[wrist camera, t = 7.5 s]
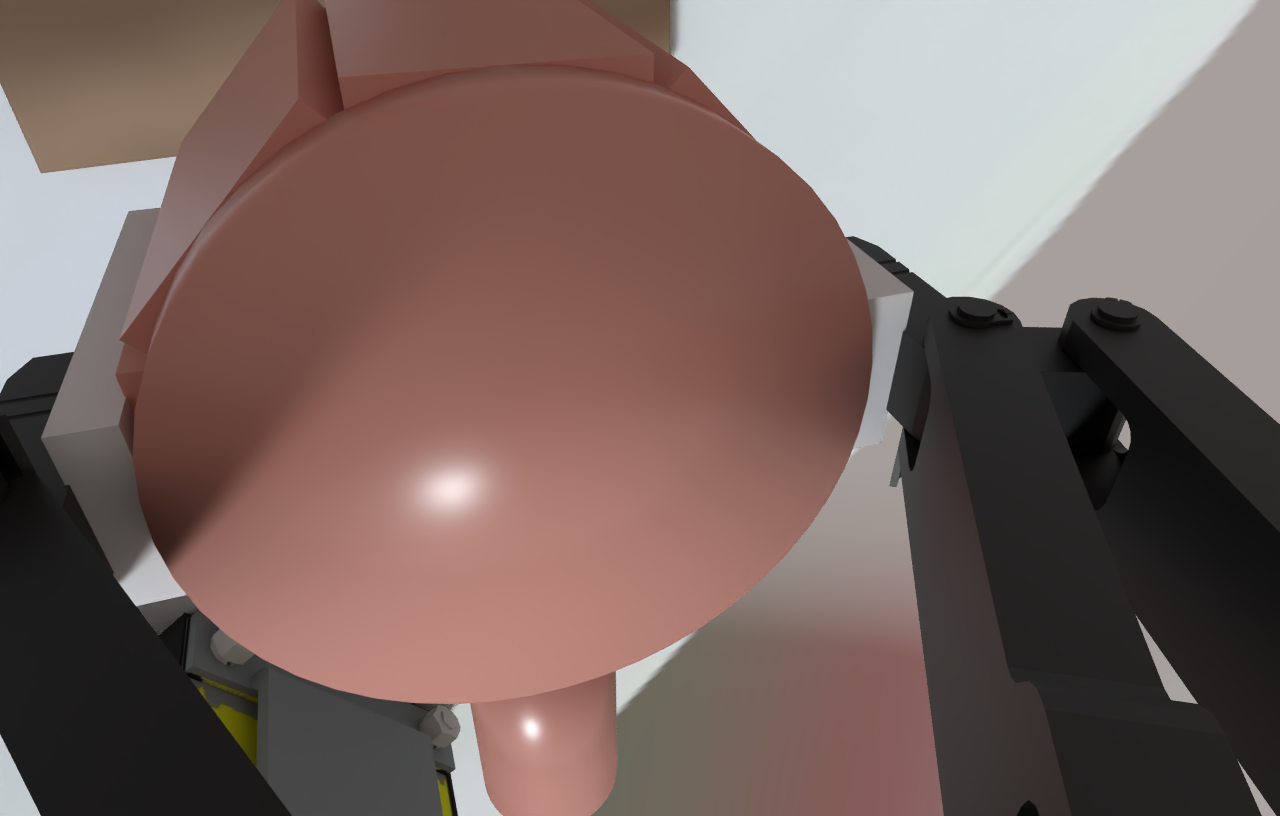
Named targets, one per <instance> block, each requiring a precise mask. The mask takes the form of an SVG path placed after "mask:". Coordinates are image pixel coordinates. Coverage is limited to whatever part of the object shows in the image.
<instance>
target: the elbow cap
mask: <svg viewBox="0 0 1280 816" xmlns="http://www.w3.org/2000/svg"><path fill="white" fill-rule="evenodd" d="M325 5H326V8H325V7H324V6H323V5H321V4H320V3H319V2H318V1H316V0H282V2H281V3H280V5H279V6H278V7H277V9H276V10H275V12H274V13H273V14H272V16H271V17H270V19H269V20H268V21H267V23H266V24H265V26H264V27H263V28H262V30H261V31H260V33H259V34H258V35H257V37H256V38H255V40H254V41H253V42H252V44H251V45H250V47H249V48H248V49H247V51H246V52H245V54H244V55H243V56H242V58H241V59H240V61H239V62H238V63H237V65H236V66H235V68H234V69H233V70H232V72H231V73H230V75H229V76H228V77H227V79H226V80H225V82H224V83H223V84H222V86H221V87H220V89H219V90H218V91H217V93H216V94H215V96H214V97H213V99H212V100H211V101H210V103H209V104H208V106H207V107H206V108H205V110H204V111H203V113H202V114H201V115H200V117H199V118H198V120H197V121H196V122H195V124H194V125H193V127H192V128H191V129H190V131H189V132H188V134H187V135H186V136H185V138H184V139H183V141H182V142H181V145H180V148H179V151H178V154H177V157H176V161H175V164H174V167H173V170H172V173H171V177H170V180H169V183H168V186H167V189H166V192H165V196H164V199H163V202H162V205H161V208H160V212H159V215H158V218H157V221H156V224H155V227H154V231H153V234H152V237H151V240H150V243H149V247H148V250H147V253H146V256H145V259H144V262H143V266H142V269H141V272H140V275H139V278H138V282H137V285H136V288H135V291H134V294H133V297H132V301H131V304H130V307H129V310H128V313H127V317H126V320H125V323H124V326H123V329H122V332H121V336H120V339H119V340H120V341H122V342H124V347H123V350H122V353H121V357H120V360H119V363H118V367H117V370H116V373H115V376H116V378H117V381H118V383H119V385H120V388H121V390H122V392H123V395H124V397H125V396H126V397H127V400H128V402H129V404H130V407H131V409H132V411H133V414H134V439H133V463H134V470H135V477H136V483H137V490H138V496H139V503H140V506H141V509H142V511H143V514H144V517H145V520H146V523H147V526H148V529H149V532H150V534H151V537H152V540H153V543H154V545H155V547H156V548H157V550H158V552H159V554H160V555H161V557H162V559H163V561H164V562H165V564H166V566H167V568H168V569H169V571H170V573H171V575H172V577H173V578H174V580H175V581H176V582H177V583H178V585H179V586H180V587H181V588H182V590H183V591H184V592H185V593H186V594H187V596H188V597H189V598H190V599H191V601H192V602H193V603H194V604H195V605H196V607H197V608H198V609H199V610H200V611H201V612H202V613H203V614H204V615H205V616H206V617H207V618H209V619H210V620H211V621H212V622H213V623H214V624H215V625H216V626H218V627H219V628H220V629H221V630H222V631H223V632H224V633H225V634H227V635H228V636H229V637H230V638H231V639H233V640H235V641H236V642H238V643H239V644H241V645H242V646H244V647H245V648H247V649H248V650H250V651H251V652H253V653H254V654H256V655H257V656H259V657H260V658H262V659H263V660H265V661H268V662H270V663H272V664H274V665H276V666H278V667H280V668H282V669H284V670H286V671H288V672H290V673H292V674H294V675H296V676H298V677H301V678H304V679H307V680H310V681H313V682H316V683H319V684H321V685H324V686H327V687H330V688H333V689H336V690H340V691H345V692H349V693H354V694H358V695H362V696H367V697H371V698H377V699H385V700H393V701H401V702H409V703H432V704H461V703H470V704H471V710H472V715H473V721H474V726H475V732H476V737H477V743H478V748H479V754H480V759H481V765H482V770H483V776H484V781H485V786H486V790H487V793H488V795H489V798H490V800H491V802H492V803H493V805H494V806H495V808H496V809H497V810H498V811H499V812H500V813H501V814H502V815H503V816H590V815H592V814H593V813H594V812H595V811H596V810H597V809H598V808H599V807H600V806H601V805H602V804H603V802H604V801H605V800H606V798H607V797H608V795H609V794H610V792H611V790H612V787H613V785H614V781H615V778H616V773H617V721H616V670H619V669H621V668H623V667H626V666H628V665H631V664H633V663H636V662H638V661H640V660H642V659H644V658H646V657H648V656H650V655H652V654H654V653H656V652H658V651H660V650H662V649H664V648H666V647H668V646H670V645H672V644H674V643H675V642H677V641H679V640H680V639H682V638H684V637H685V636H687V635H689V634H690V633H692V632H694V631H695V630H697V629H698V628H700V627H702V626H703V625H705V624H706V623H708V622H709V621H710V620H712V619H713V618H714V617H716V616H717V615H719V614H720V613H721V612H723V611H724V610H726V609H727V608H728V607H730V606H731V605H733V604H734V603H735V602H736V601H737V600H738V599H740V598H741V597H742V596H743V595H744V594H746V593H747V592H748V591H749V590H750V589H751V588H753V587H754V586H755V585H756V584H757V583H758V582H760V581H761V580H762V579H763V578H764V577H765V576H766V575H767V574H768V573H769V572H770V570H772V569H773V567H775V566H776V564H778V563H779V561H781V560H782V559H783V558H784V556H785V555H786V554H787V553H788V552H789V550H791V548H792V547H793V546H794V545H795V543H796V542H797V541H798V540H799V539H800V537H801V536H802V535H803V534H804V532H805V531H806V530H807V529H808V528H809V526H810V525H811V523H812V522H813V520H814V519H815V517H816V516H817V514H818V513H819V511H820V510H821V508H822V507H823V505H824V504H825V503H826V501H827V500H828V498H829V496H830V495H831V493H832V491H833V489H834V487H835V485H836V483H837V481H838V479H839V478H840V476H841V474H842V472H843V470H844V468H845V466H846V464H847V462H848V459H849V457H850V454H851V451H852V449H853V446H854V444H855V441H856V439H857V436H858V434H859V431H860V427H861V423H862V419H863V415H864V412H865V408H866V404H867V400H868V395H869V387H870V379H871V371H872V364H873V354H872V323H871V317H870V310H869V304H868V298H867V292H866V288H865V285H864V282H863V279H862V276H861V273H860V270H859V267H858V264H857V261H856V258H855V255H854V253H853V251H852V249H851V247H850V245H849V244H848V242H847V240H846V238H845V236H844V234H843V232H842V230H841V228H840V227H839V225H838V223H837V221H836V219H835V218H834V217H833V215H832V214H831V213H830V211H829V210H828V209H827V208H826V206H825V205H824V204H823V202H822V201H821V200H820V198H819V197H818V196H817V194H816V193H815V192H814V191H813V189H812V188H811V187H810V186H809V185H808V184H807V183H806V182H805V181H804V180H803V179H802V178H801V177H799V176H798V175H797V174H796V173H795V172H794V171H793V170H792V169H791V168H790V167H789V166H788V165H787V164H785V163H784V162H783V161H782V160H781V159H780V158H779V157H778V156H776V155H775V154H774V153H772V152H771V151H770V150H768V149H767V148H766V147H764V146H763V145H761V144H760V143H759V142H757V141H756V140H755V139H754V138H753V136H752V135H751V134H750V133H749V132H748V131H747V130H746V129H745V128H744V127H743V126H742V124H741V123H740V122H739V121H738V120H737V119H736V118H735V117H734V116H733V115H732V114H731V113H730V111H729V110H728V109H727V108H726V107H725V106H724V105H723V104H722V103H721V102H720V101H719V100H718V98H717V97H716V96H715V95H714V94H713V93H712V92H711V91H710V90H709V89H708V88H707V86H706V85H705V84H704V83H703V82H702V81H701V80H700V79H699V78H698V77H697V76H696V75H695V73H694V72H693V71H692V70H691V69H690V68H689V67H688V66H686V65H685V64H683V63H682V62H680V61H679V60H677V59H676V58H675V57H673V56H672V55H670V54H669V53H667V52H666V51H664V50H663V49H661V48H660V47H658V46H657V45H655V44H654V43H652V42H651V41H649V40H648V39H646V38H645V37H643V36H642V35H640V34H639V33H637V32H636V31H635V30H633V29H632V28H630V27H629V26H627V25H626V24H624V23H623V22H621V21H620V20H618V19H617V18H615V17H614V16H612V15H611V14H609V13H608V12H606V11H605V10H603V9H602V8H600V7H599V6H597V5H596V4H594V3H593V2H592V1H590V0H325Z"/></svg>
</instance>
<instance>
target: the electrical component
mask: <svg viewBox="0 0 1280 816" xmlns="http://www.w3.org/2000/svg"><path fill="white" fill-rule="evenodd" d="M159 638H160V639H161V640H162V642H163V643H164V644H165V646H166V647H167V648H168V650H169V651H170V652H171V654H172V655H173V656H174V658H175V659H176V660H177V662H178V663H179V664H180V666H181V667H182V669H183V670H184V671H185V673H186V674H187V675H188V677H189V678H190V679H191V681H192V682H193V683H194V685H195V686H196V687H197V689H198V690H199V691H200V693H201V694H202V695H203V697H204V698H205V699H206V701H207V702H208V703H209V705H210V706H211V707H212V709H213V710H214V711H215V713H216V714H217V716H218V717H219V718H220V720H221V721H222V722H223V724H224V725H225V726H226V728H227V729H228V730H229V732H230V733H231V734H232V736H233V737H234V738H235V740H236V741H237V742H238V744H239V745H240V746H241V748H242V749H243V750H244V752H245V753H246V754H247V756H248V757H249V758H250V760H251V761H252V763H253V764H254V765H255V767H256V768H257V769H258V771H259V772H260V773H261V775H262V776H263V777H264V779H265V780H266V781H267V783H268V784H269V785H270V787H271V788H272V789H273V791H274V792H275V793H276V795H277V796H278V797H279V799H280V800H281V801H282V803H283V804H284V805H285V807H286V808H287V810H288V811H289V812H290V814H291V815H292V816H458V814H457V808H456V802H455V797H454V791H453V785H452V780H451V774H450V772H452V771H453V770H455V763H454V758H453V752H452V747H451V743H452V742H453V741H454V740H455V739H456V738H457V736H458V734H459V732H460V725H459V722H458V719H457V717H456V716H455V715H454V713H453V712H452V711H451V710H449V709H448V708H446V707H445V706H441V705H437V706H435V707H434V708H433V709H432V710H430V711H429V712H428V711H426V710H424V709H422V708H419V707H417V706H415V705H413V704H410V703H408V702H401V701H393V700H385V699H377V698H371V697H367V696H362V695H358V694H354V693H349V692H345V691H340V690H336V689H333V688H330V687H327V686H324V685H321V684H319V683H316V682H313V681H310V680H307V679H304V678H301V677H298V676H296V675H294V674H292V673H290V672H288V671H286V670H284V669H282V668H280V667H278V666H276V665H274V664H272V663H270V662H268V661H265V660H263V659H262V658H260V657H259V656H257V655H256V654H254V653H253V652H251V651H250V650H248V649H247V648H245V647H244V646H242V645H241V644H239V643H238V642H236V641H235V640H233V639H231V638H230V637H229V636H228V635H227V634H225V633H224V632H223V631H222V630H221V629H220V628H219V627H218V626H216V625H215V624H214V623H213V622H212V621H211V620H210V619H209V618H207V617H206V616H205V615H204V614H203V613H202V612H201V611H199V610H198V611H196V612H195V613H194V614H193V615H190V614H187V613H184V614H183V615H182V616H181V617H180V618H178V619H177V620H176V621H175V622H174V623H173V624H172V625H171V626H169V627H168V628H167V629H166V630H165V631H164V632H163V633H162V634H160V635H159Z"/></svg>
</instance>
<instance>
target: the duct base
mask: <svg viewBox="0 0 1280 816" xmlns="http://www.w3.org/2000/svg"><path fill="white" fill-rule="evenodd" d="M316 1H318V2H319V3H320V4H321V5H323V6H324V7H325V8H326V5H325V0H316ZM590 1H592V2H593V3H594V4H596V5H597V6H599V7H600V8H602V9H603V10H605V11H606V12H608V13H609V14H611V15H612V16H614V17H615V18H617V19H618V20H620V21H621V22H623V23H624V24H626V25H627V26H629V27H630V28H632V29H633V30H635V31H636V32H637V33H639V34H640V35H642V36H643V37H645V38H646V39H648V40H649V41H651V42H652V43H654V44H655V45H657V46H658V47H660V48H661V49H663V50H664V51H666V52H667V53H669V54H670V0H590ZM281 2H282V0H0V83H1V86H2V88H3V90H4V92H5V94H6V97H7V99H8V101H9V103H10V106H11V108H12V110H13V112H14V114H15V117H16V119H17V121H18V123H19V125H20V128H21V130H22V132H23V134H24V137H25V139H26V141H27V143H28V145H29V148H30V150H31V152H32V154H33V157H34V159H35V161H36V163H37V165H38V168H39V170H40V172H41V173H47V172H55V171H63V170H71V169H79V168H87V167H95V166H103V165H111V164H119V163H127V162H135V161H143V160H151V159H159V158H167V157H174V156H177V154H178V151H179V148H180V145H181V142H182V141H183V139H184V138H185V136H186V135H187V134H188V132H189V131H190V129H191V128H192V127H193V125H194V124H195V122H196V121H197V120H198V118H199V117H200V115H201V114H202V113H203V111H204V110H205V108H206V107H207V106H208V104H209V103H210V101H211V100H212V99H213V97H214V96H215V94H216V93H217V91H218V90H219V89H220V87H221V86H222V84H223V83H224V82H225V80H226V79H227V77H228V76H229V75H230V73H231V72H232V70H233V69H234V68H235V66H236V65H237V63H238V62H239V61H240V59H241V58H242V56H243V55H244V54H245V52H246V51H247V49H248V48H249V47H250V45H251V44H252V42H253V41H254V40H255V38H256V37H257V35H258V34H259V33H260V31H261V30H262V28H263V27H264V26H265V24H266V23H267V21H268V20H269V19H270V17H271V16H272V14H273V13H274V12H275V10H276V9H277V7H278V6H279V5H280V3H281Z"/></svg>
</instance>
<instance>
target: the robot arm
mask: <svg viewBox="0 0 1280 816" xmlns="http://www.w3.org/2000/svg"><path fill="white" fill-rule="evenodd" d="M159 212H160V208H154V209H145V210H136V211H129V212H128V215H127V217H126V220H125V222H124V225H123V228H122V230H121V233H120V235H119V238H118V240H117V243H116V246H115V248H114V251H113V253H112V256H111V259H110V261H109V264H108V266H107V269H106V271H105V274H104V277H103V279H102V282H101V284H100V287H99V290H98V292H97V295H96V297H95V300H94V302H93V305H92V308H91V310H90V313H89V315H88V318H87V320H86V323H85V326H84V328H83V331H82V333H81V336H80V339H79V341H78V344H77V346H76V349H75V351H74V352H70V353H63V354H57V355H50V356H43V357H36V358H32V359H31V360H30V361H29V362H28V363H26V364H25V365H24V366H23V367H22V368H20V369H19V370H18V371H17V372H16V373H14V374H13V375H12V376H11V377H10V378H8V379H7V381H6V383H5V385H4V387H3V389H2V391H1V393H0V734H1V736H2V738H3V740H4V743H5V745H6V747H7V749H8V751H9V753H10V755H11V757H12V759H13V761H14V763H15V765H16V767H17V769H18V771H19V773H20V775H21V777H22V779H23V781H24V783H25V785H26V787H27V789H28V791H29V793H30V795H31V797H32V799H33V801H34V803H35V805H36V807H37V809H38V811H39V813H40V815H41V816H292V815H291V814H290V812H289V811H288V810H287V808H286V807H285V805H284V804H283V803H282V801H281V800H280V799H279V797H278V796H277V795H276V793H275V792H274V791H273V789H272V788H271V787H270V785H269V784H268V783H267V781H266V780H265V779H264V777H263V776H262V775H261V773H260V772H259V771H258V769H257V768H256V767H255V765H254V764H253V763H252V761H251V760H250V758H249V757H248V756H247V754H246V753H245V752H244V750H243V749H242V748H241V746H240V745H239V744H238V742H237V741H236V740H235V738H234V737H233V736H232V734H231V733H230V732H229V730H228V729H227V728H226V726H225V725H224V724H223V722H222V721H221V720H220V718H219V717H218V716H217V714H216V713H215V711H214V710H213V709H212V707H211V706H210V705H209V703H208V702H207V701H206V699H205V698H204V697H203V695H202V694H201V693H200V691H199V690H198V689H197V687H196V686H195V685H194V683H193V682H192V681H191V679H190V678H189V677H188V675H187V674H186V673H185V671H184V670H183V669H182V667H181V666H180V664H179V663H178V662H177V660H176V659H175V658H174V656H173V655H172V654H171V652H170V651H169V650H168V648H167V647H166V646H165V644H164V643H163V642H162V640H161V639H160V638H159V636H158V635H157V634H156V632H155V631H154V630H153V628H152V627H151V626H150V624H149V623H148V622H147V620H146V619H145V617H144V616H143V615H142V613H141V612H140V611H139V609H138V608H137V607H136V606H139V605H144V604H148V603H153V602H157V601H162V600H166V599H171V598H176V597H180V596H185V595H187V594H186V593H185V592H184V591H183V590H182V588H181V587H180V586H179V585H178V583H177V582H176V581H175V580H174V578H173V577H172V575H171V573H170V571H169V569H168V568H167V566H166V564H165V562H164V561H163V559H162V557H161V555H160V554H159V552H158V550H157V548H156V547H155V545H154V543H153V540H152V537H151V534H150V532H149V529H148V526H147V523H146V520H145V517H144V514H143V511H142V509H141V506H140V503H139V496H138V490H137V483H136V477H135V470H134V463H133V439H134V414H133V411H132V409H131V407H130V404H129V402H128V400H127V397H126V396H125V397H124V395H123V392H122V390H121V388H120V385H119V383H118V381H117V378H116V376H115V373H116V370H117V367H118V363H119V360H120V357H121V353H122V350H123V347H124V342H122V341H120V340H119V339H120V336H121V332H122V329H123V326H124V323H125V320H126V317H127V313H128V310H129V307H130V304H131V301H132V297H133V294H134V291H135V288H136V285H137V282H138V278H139V275H140V272H141V269H142V266H143V262H144V259H145V256H146V253H147V250H148V247H149V243H150V240H151V237H152V234H153V231H154V227H155V224H156V221H157V218H158V215H159ZM845 238H846V240H847V242H848V244H849V245H850V247H851V249H852V251H853V253H854V255H855V258H856V261H857V264H858V267H859V270H860V273H861V276H862V279H863V282H864V285H865V288H866V292H867V298H868V304H869V310H870V317H871V323H872V354H873V364H872V371H871V379H870V387H869V395H868V400H867V404H866V408H865V412H864V415H863V419H862V423H861V427H860V431H859V434H858V436H857V439H856V441H855V444H854V446H853V449H855V448H860V447H865V446H869V445H874V444H878V443H881V441H882V437H883V432H884V427H885V423H886V418H887V414H888V412H889V413H890V414H891V415H892V416H893V417H894V418H895V419H896V420H897V421H898V422H899V423H900V424H901V425H902V426H903V429H902V434H901V438H900V442H899V447H898V451H897V456H896V459H895V464H894V469H893V473H892V477H891V481H890V486H892V487H896V486H897V483H898V480H899V478H900V477H902V485H903V493H904V501H905V509H906V517H907V525H908V533H909V541H910V549H911V557H912V564H913V573H914V581H915V589H916V597H917V605H918V612H919V621H920V629H921V637H922V644H923V653H924V661H925V668H926V676H927V684H928V692H929V700H930V708H931V716H932V724H933V732H934V739H935V748H936V756H937V764H938V772H939V780H940V788H941V796H942V804H943V812H944V816H1262V815H1261V813H1260V811H1259V809H1258V807H1257V804H1256V802H1255V799H1254V797H1253V795H1252V793H1251V791H1250V788H1249V786H1248V783H1247V782H1246V779H1245V777H1244V774H1243V772H1242V770H1241V768H1240V765H1239V763H1240V764H1241V766H1242V767H1243V769H1244V770H1245V771H1246V773H1247V774H1248V776H1249V777H1250V778H1251V780H1252V781H1253V783H1254V784H1255V786H1256V787H1257V788H1258V790H1259V791H1260V793H1261V794H1262V796H1263V797H1264V799H1265V800H1266V801H1267V803H1268V804H1269V806H1270V807H1271V808H1272V810H1273V811H1274V813H1275V814H1276V815H1277V816H1280V424H1279V423H1277V422H1276V421H1275V420H1274V419H1273V418H1272V417H1271V416H1269V415H1268V414H1267V413H1266V412H1265V411H1264V410H1262V409H1261V408H1260V407H1259V406H1258V405H1257V404H1256V403H1254V402H1253V401H1252V400H1251V399H1250V398H1249V397H1248V396H1246V395H1245V394H1244V393H1243V392H1242V391H1241V390H1240V389H1238V388H1237V387H1236V386H1235V385H1234V384H1233V383H1232V382H1230V381H1229V380H1228V379H1227V378H1226V377H1224V375H1222V374H1221V373H1220V372H1219V371H1218V370H1217V369H1216V368H1214V367H1213V366H1212V365H1211V364H1210V363H1209V362H1208V361H1206V360H1205V359H1204V358H1203V357H1202V356H1201V355H1200V354H1198V353H1197V352H1196V351H1195V350H1194V349H1192V348H1191V347H1190V346H1189V345H1188V344H1187V343H1186V342H1185V341H1184V340H1182V339H1181V338H1180V337H1179V336H1178V335H1177V334H1176V333H1174V332H1173V331H1172V330H1171V329H1169V327H1168V326H1166V325H1165V324H1164V323H1163V322H1162V321H1161V320H1159V319H1158V318H1157V317H1156V316H1154V315H1152V314H1151V313H1150V312H1148V311H1146V310H1145V309H1143V308H1140V307H1137V306H1135V305H1132V303H1130V302H1128V301H1124V300H1120V301H1117V300H1118V299H1115V298H1105V299H1104V298H1088V299H1082V300H1078V301H1076V302H1074V303H1072V304H1071V305H1070V307H1069V310H1068V312H1067V315H1066V318H1065V321H1064V324H1063V327H1062V328H1047V327H1040V328H1039V327H1022V324H1021V322H1020V320H1019V319H1018V318H1017V316H1016V315H1015V314H1014V313H1013V312H1012V311H1010V310H1009V309H1007V308H1005V307H1004V306H1002V305H999V304H997V303H994V302H991V301H988V300H985V299H979V298H973V297H950V298H946V297H944V296H943V295H942V294H941V293H939V292H938V291H937V290H935V289H934V288H933V287H931V286H930V285H929V284H927V283H926V282H925V281H924V280H922V279H921V278H920V277H918V276H917V275H916V274H914V273H913V272H911V273H910V272H909V269H908V268H906V267H905V266H904V265H903V264H901V263H900V262H896V259H895V258H893V257H892V256H891V255H889V254H888V253H887V252H885V251H884V250H883V249H882V248H880V247H879V246H877V245H874V244H872V243H869V242H867V241H864V240H862V239H859V238H857V237H854V236H852V237H845ZM1126 420H1127V421H1128V424H1129V428H1130V431H1131V443H1130V447H1129V450H1127V449H1126V448H1125V447H1124V446H1123V445H1122V443H1121V442H1120V441H1119V440H1118V437H1119V435H1120V432H1121V430H1122V428H1123V425H1124V423H1125V421H1126ZM1135 614H1136V615H1135ZM1136 616H1137V617H1138V619H1139V620H1140V621H1141V623H1142V624H1143V626H1144V627H1145V629H1146V630H1147V631H1148V633H1149V634H1150V636H1151V637H1152V639H1153V640H1154V642H1155V643H1156V644H1157V646H1158V647H1159V649H1160V650H1161V652H1162V653H1163V654H1164V656H1165V657H1166V658H1167V660H1168V661H1169V663H1170V664H1171V666H1172V667H1173V669H1174V670H1175V672H1176V673H1177V674H1178V676H1179V677H1180V679H1181V680H1182V681H1183V683H1184V684H1185V686H1186V687H1187V689H1188V690H1189V691H1190V693H1191V694H1192V696H1193V697H1194V699H1195V700H1196V701H1197V703H1198V704H1193V703H1187V702H1180V701H1172V700H1171V699H1170V698H1169V696H1168V694H1167V693H1166V691H1165V689H1164V687H1163V684H1162V682H1161V679H1160V676H1159V674H1158V672H1157V669H1156V666H1155V664H1154V661H1153V659H1152V656H1151V654H1150V651H1149V648H1148V646H1147V643H1146V641H1145V638H1144V636H1143V633H1142V631H1141V628H1140V626H1139V623H1138V620H1137V618H1136ZM1237 760H1238V761H1239V763H1238V761H1237Z"/></svg>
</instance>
